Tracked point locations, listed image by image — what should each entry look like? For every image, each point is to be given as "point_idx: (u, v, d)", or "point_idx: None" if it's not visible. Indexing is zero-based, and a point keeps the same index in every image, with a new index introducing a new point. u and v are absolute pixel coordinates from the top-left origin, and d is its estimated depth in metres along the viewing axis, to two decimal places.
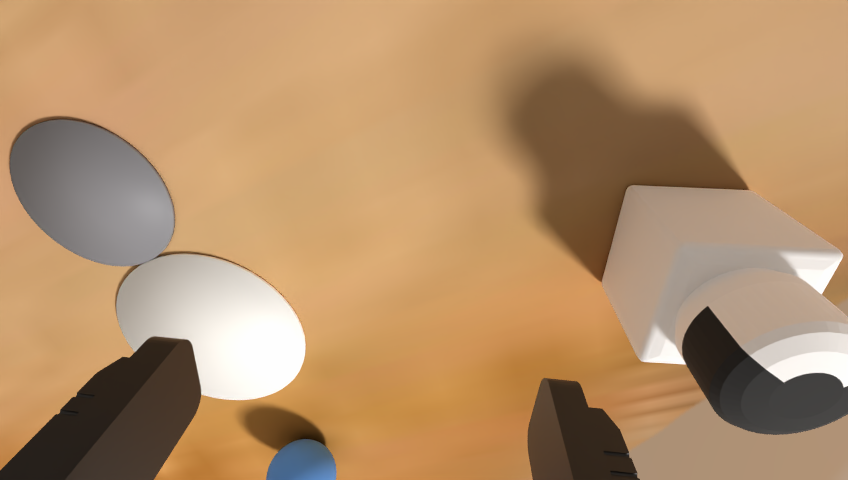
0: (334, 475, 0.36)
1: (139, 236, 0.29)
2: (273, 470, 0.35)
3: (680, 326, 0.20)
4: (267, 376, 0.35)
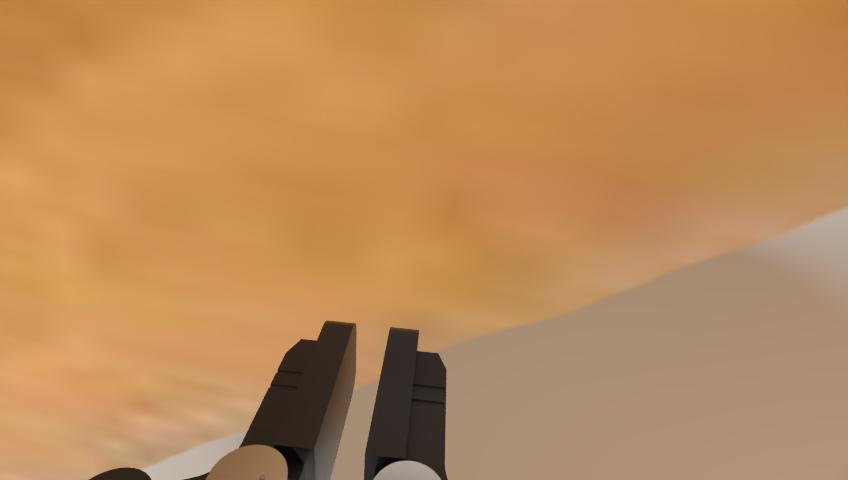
0: None
1: None
2: None
3: None
4: None
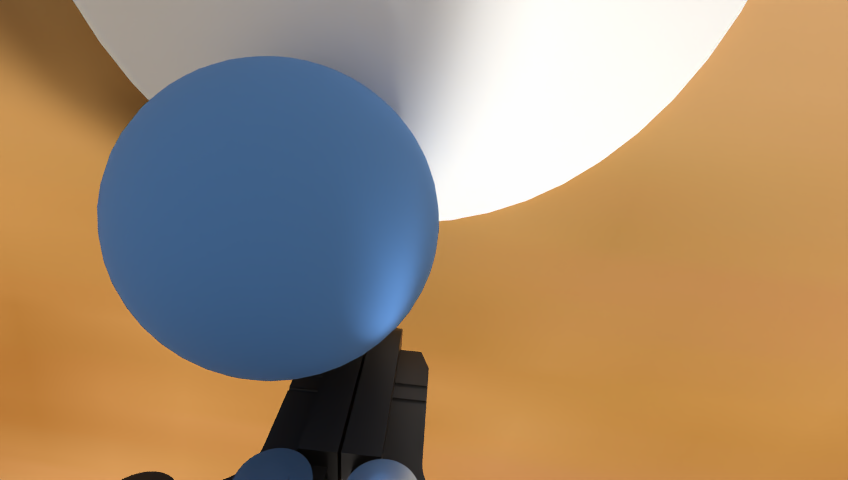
0: (406, 184, 0.07)
1: None
2: None
3: None
4: (445, 155, 0.10)
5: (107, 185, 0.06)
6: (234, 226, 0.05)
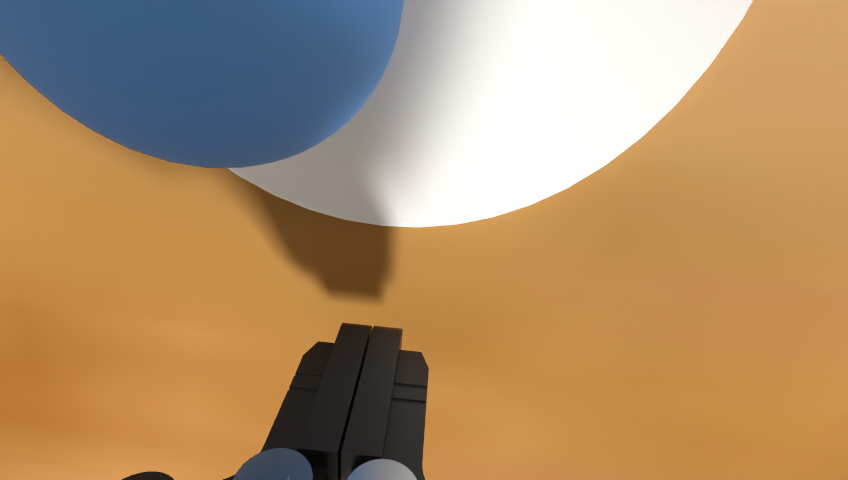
0: None
1: None
2: (212, 166, 0.06)
3: None
4: (449, 160, 0.10)
5: None
6: None
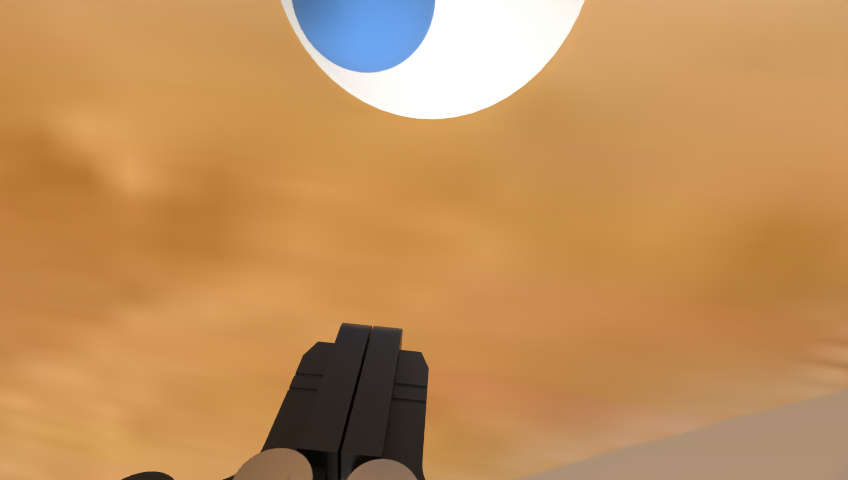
0: None
1: None
2: (364, 68, 0.18)
3: None
4: (451, 82, 0.21)
5: None
6: None
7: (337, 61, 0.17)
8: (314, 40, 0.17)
